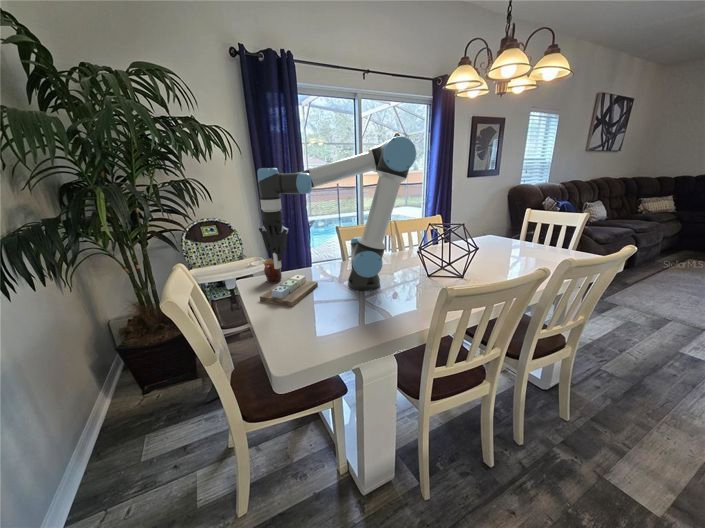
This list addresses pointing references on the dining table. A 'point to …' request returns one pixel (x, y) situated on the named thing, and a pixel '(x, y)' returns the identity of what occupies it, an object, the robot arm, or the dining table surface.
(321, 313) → the dining table surface
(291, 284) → the tile two
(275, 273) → the mug
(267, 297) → the board
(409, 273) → the dining table surface
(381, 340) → the dining table surface
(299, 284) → the tile one
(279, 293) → the tile three
